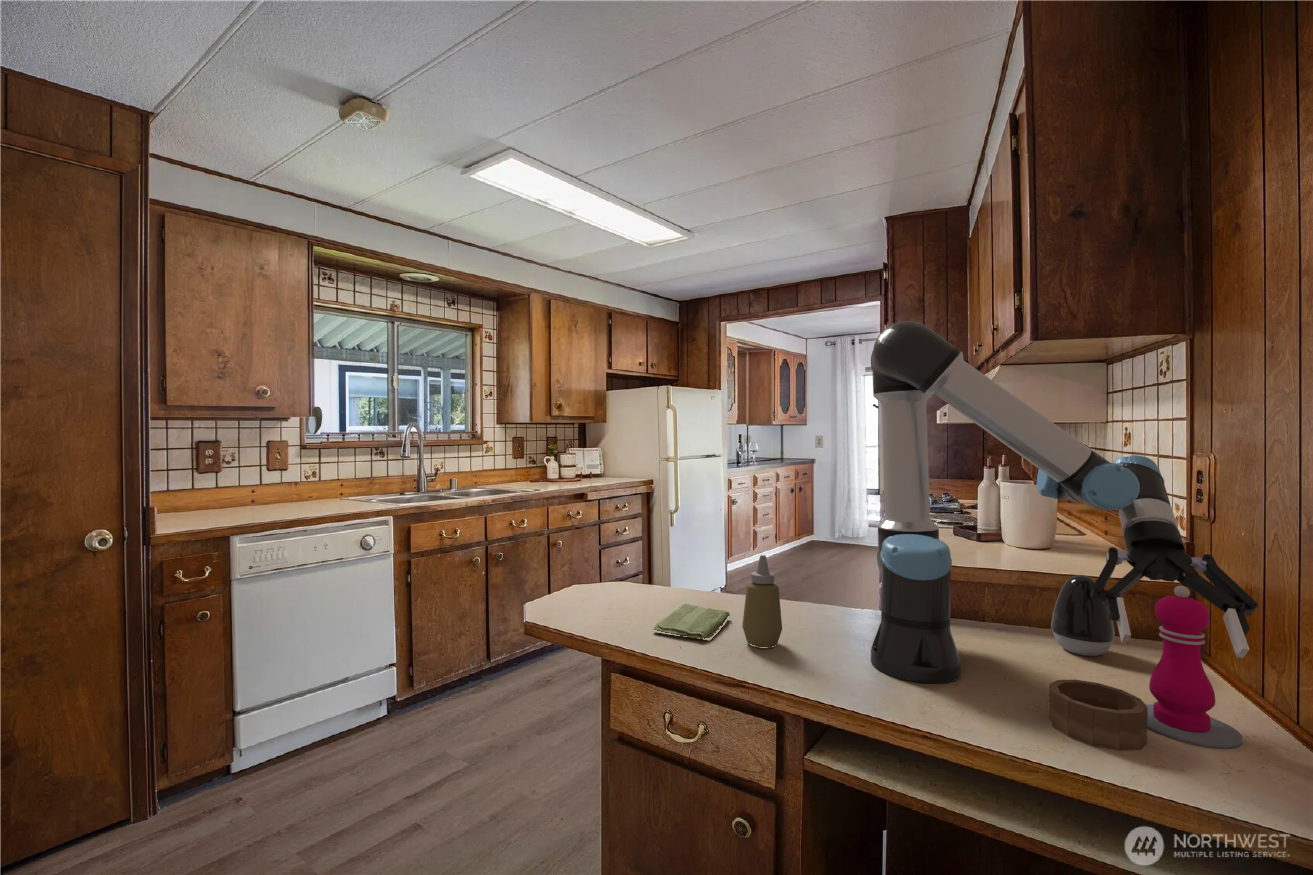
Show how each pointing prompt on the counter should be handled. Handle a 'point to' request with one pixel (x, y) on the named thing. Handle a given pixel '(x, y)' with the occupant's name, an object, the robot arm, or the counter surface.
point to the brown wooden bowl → (1098, 714)
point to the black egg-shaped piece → (1081, 619)
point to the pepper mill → (1182, 664)
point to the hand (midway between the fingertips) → (1182, 646)
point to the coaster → (1198, 733)
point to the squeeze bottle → (762, 608)
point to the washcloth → (693, 621)
